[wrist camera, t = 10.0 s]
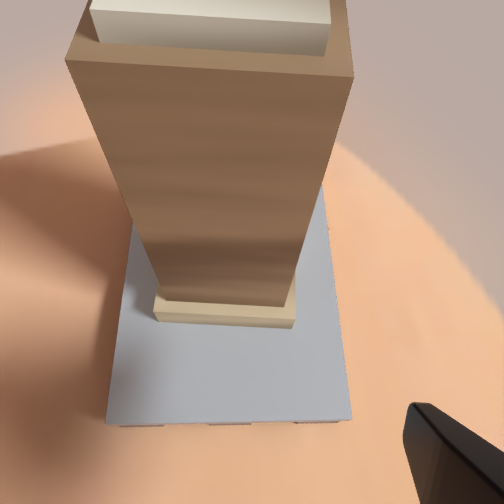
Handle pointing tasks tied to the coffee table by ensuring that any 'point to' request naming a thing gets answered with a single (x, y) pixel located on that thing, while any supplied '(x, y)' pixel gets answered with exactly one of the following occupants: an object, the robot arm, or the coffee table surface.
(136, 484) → the coffee table surface
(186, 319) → the light wood tall block
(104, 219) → the coffee table surface
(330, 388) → the block
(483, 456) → the robot arm
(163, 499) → the coffee table surface
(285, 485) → the coffee table surface
